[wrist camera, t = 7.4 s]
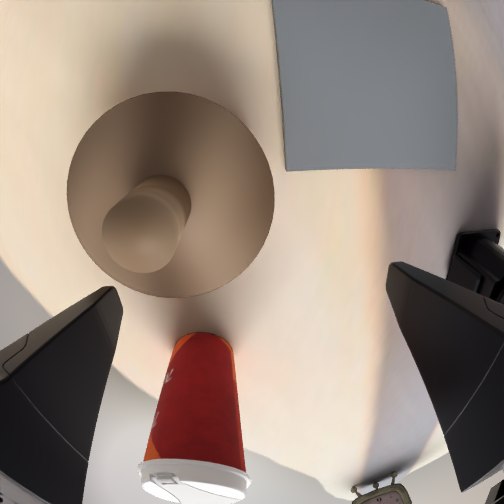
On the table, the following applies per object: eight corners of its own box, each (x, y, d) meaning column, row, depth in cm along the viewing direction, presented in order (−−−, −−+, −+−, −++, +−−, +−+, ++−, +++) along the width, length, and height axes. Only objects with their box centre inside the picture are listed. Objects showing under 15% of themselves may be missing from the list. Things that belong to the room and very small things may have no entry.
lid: (263, 79, 12) (276, 63, 8) (278, 280, 17) (291, 337, 13) (58, 121, 12) (2, 132, 8) (103, 295, 17) (75, 346, 13)
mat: (442, 9, 13) (446, 7, 13) (451, 168, 19) (455, 170, 19) (269, -21, 13) (269, -25, 12) (285, 169, 19) (286, 171, 19)
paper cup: (147, 337, 25) (110, 476, 13) (221, 311, 24) (216, 474, 12) (190, 386, 29) (179, 508, 16) (258, 367, 28) (270, 502, 15)
